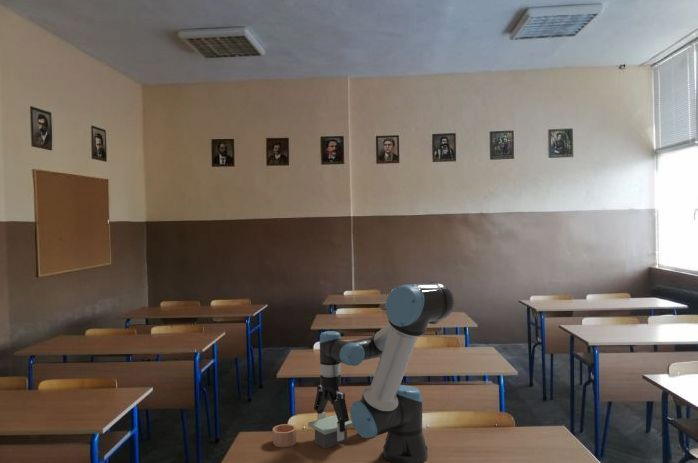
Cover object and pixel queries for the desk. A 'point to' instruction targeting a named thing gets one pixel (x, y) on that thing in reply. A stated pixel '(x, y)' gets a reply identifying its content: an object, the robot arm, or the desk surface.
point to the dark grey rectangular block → (328, 439)
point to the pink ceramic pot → (284, 435)
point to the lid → (327, 424)
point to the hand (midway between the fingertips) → (331, 435)
